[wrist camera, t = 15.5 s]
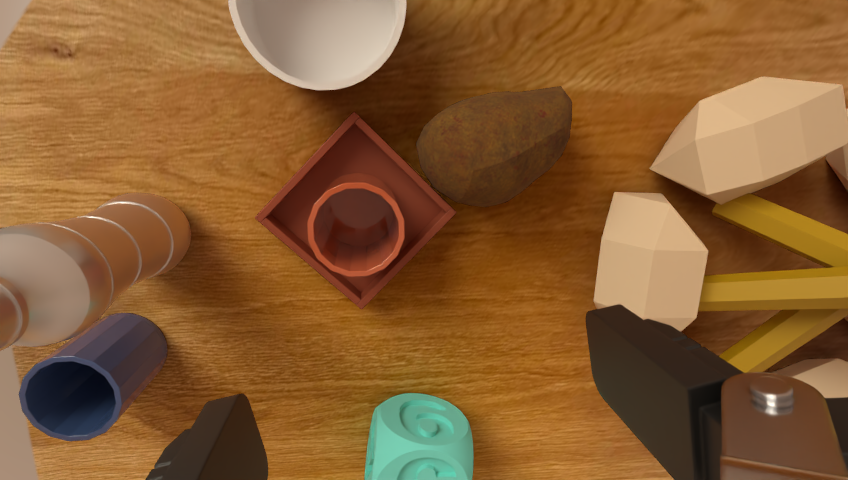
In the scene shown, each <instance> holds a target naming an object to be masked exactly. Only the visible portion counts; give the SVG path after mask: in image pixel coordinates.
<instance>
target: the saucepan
mask: <svg viewBox="0 0 848 480" xmlns="http://www.w3.org/2000/svg"><path fill="white" fill-rule="evenodd" d="M228 3H229V10H230V13H231V16H232V19H233V23H234V26H235V28H236V30H237V32H238V34H239V36H240V38H241V40H242V42H243V44H244V45H245V47H246V48H247V49H248V50H249V52H250V53H251V54H252V56H253V57H254V58H255V59H256V60H257V61H258V62H259V63H260V64H261V65H262V66H263V67H264V68H266V69H267V70H268V71H269V72H270V73H272V74H274V75H275V76H277V77H279V78H280V79H282V80H283V81H285V82H288V83H291V84H293V85H296V86H299V87H302V88H307V89H313V90H336V89H342V88H346V87H350V86H352V85H355V84H357V83H359V82H361V81H363V80H364V79H366V78H367V77H369V76H370V75H371V74H373V73H374V72H375V71H377V70H378V69H379V68H380V67H381V66H382V65H383V63H384V62H385V61H386V60H387V59H388V58H389V57H390V55H391V53H392V52H393V50H394V48H395V46H396V45H397V43H398V41H399V38H400V35H401V32H402V29H403V26H404V21H405V14H406V0H228Z"/></svg>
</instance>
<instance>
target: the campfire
mask: <svg viewBox="0 0 848 480" xmlns="http://www.w3.org/2000/svg"><path fill="white" fill-rule="evenodd" d="M826 155H827V156H826ZM824 156H826V160H827V162H828V163H829V165H830V166H831V168H832V169H833V171H834V172H835V174H836V175H837V176H838V178H839V179H840V181H841V182H842V184H843V185H844V187H845V188H846V190H847V191H848V109H846V106H845V98H844V90H843V85H840V84H830V83H821V82H811V81H801V80H792V79H782V78H772V77H763V76H762V77H760V78H757V79H755V80H752V81H749V82H747V83H744V84H742V85H739V86H737V87H734V88H731V89H729V90H726V91H724V92H721V93H718V94H716V95H713V96H711V97H708V98H706V99H703V100H700V101H699V102H698V103H697V104H696V105H695V107H694V108H693V109H692V110H691V111H690V112H689V113H688V114H687V116H686V117H685V118H684V119H683V120H682V121H681V122H680V123H679V125H678V126H677V127H676V128H675V129H674V131H673V133H672V134H671V136H670V137H669V139H668V140H667V142H666V144H665V145H664V147H663V148H662V150H661V152H660V153H659V155H658V156H657V158H656V159H655V161H654V163H653V164H652V166H651V167H650V170H652V171H654V172H656V173H658V174H660V175H662V176H664V177H666V178H668V179H670V180H672V181H674V182H676V183H678V184H680V185H682V186H684V187H686V188H688V189H690V190H692V191H694V192H696V193H698V194H700V195H702V196H704V197H706V198H708V199H710V200H712V201H714V202H716V204H715V206H714V208H713V210H712V215H713V216H715V217H718V218H720V219H722V220H724V221H726V222H728V223H731V224H733V225H735V226H737V227H739V228H742V229H744V230H746V231H748V232H750V233H752V234H755V235H757V236H759V237H761V238H763V239H765V240H768V241H770V242H772V243H774V244H776V245H778V246H781V247H783V248H785V249H787V250H789V251H791V252H794V253H796V254H798V255H800V256H802V257H804V258H807V259H809V260H811V261H813V262H815V263H817V264H820V265H822V266H824V267H826V268H816V269H800V270H784V271H768V272H752V273H736V274H720V275H704V273H705V267H706V262H707V256H708V250H707V248H706V247H705V245H704V244H703V243H702V241H701V240H700V239H699V237H698V236H697V235H696V234H695V233H694V231H693V230H692V229H691V228H690V227H689V225H688V224H687V223H686V222H685V221H684V219H683V218H682V217H681V216H680V215H679V213H678V212H677V211H676V210H675V209H674V207H673V206H672V205H671V204H670V203H669V202H668V200H667V199H666V198H665V197H664V196H663V194H662V193H632V192H614V195H613V199H612V202H611V206H610V209H609V213H608V217H607V220H606V224H605V228H604V231H603V235H602V239H601V246H600V254H599V262H598V270H597V278H596V286H595V294H594V303H595V306H596V308H597V309H600V308H604V307H608V306H613V305H617V304H621V305H623V306H624V307H626V308H627V309H628V310H630V311H631V312H633V313H634V314H636V315H637V316H639V317H640V318H642V319H643V320H644V319H651V320H654V321H658V322H661V323H664V324H667V325H671V326H672V327H674V328H675V329H677V330H678V331H680V332H681V331H682V330H683V329H684V328H686V327H687V326H688V325H689V324H690V323H691V322H692V321H694V320H695V319H696V318H697V312H698V311H737V310H781V311H780V312H779V313H777V314H776V315H774V316H773V317H772V318H770V319H769V320H768V321H766V322H765V323H763V324H762V325H761V326H759V327H758V328H756V329H755V330H754V331H752V332H751V333H750V334H748V335H747V336H745V337H744V338H743V339H741V340H740V341H739V342H737V343H736V344H734V345H733V346H732V347H730V348H729V349H727V350H726V351H725V352H723V353H722V354H721V355H719V357H720V358H722V359H724V360H725V361H727V362H728V363H730V364H731V365H733V366H734V367H736V368H738V369H739V370H741V371H742V372H744V373H749V372H763V371H765V370H766V369H768V368H769V367H771V366H772V365H774V364H775V363H777V362H778V361H780V360H781V359H783V358H784V357H786V356H787V355H789V354H790V353H792V352H793V351H795V350H796V349H798V348H799V347H801V346H802V345H804V344H805V343H807V342H808V341H810V340H811V339H813V338H814V337H816V336H817V335H819V334H820V333H822V332H823V331H825V330H826V329H828V328H829V327H831V326H832V325H834V324H835V323H837V322H838V321H840V320H841V319H843V318H845V320H846V321H847V322H848V234H846V233H844V232H842V231H839V230H837V229H834V228H832V227H830V226H827V225H825V224H822V223H820V222H818V221H815V220H813V219H810V218H808V217H806V216H803V215H801V214H798V213H796V212H794V211H791V210H789V209H786V208H784V207H782V206H779V205H777V204H774V203H772V202H770V201H767V200H765V199H762V198H760V197H758V196H755V195H753V194H750V193H752V192H755V191H758V190H760V189H763V188H765V187H768V186H770V185H773V184H775V183H778V182H780V181H782V180H784V179H786V178H787V177H789V176H791V175H793V174H794V173H796V172H798V171H800V170H802V169H803V168H805V167H807V166H809V165H810V164H812V163H814V162H816V161H817V160H819V159H821V158H823V157H824ZM772 373H776V374H781V375H786V376H789V377H793V378H796V379H798V380H801V381H803V382H805V383H807V384H809V385H811V386H813V387H814V388H816V389H817V390H818V391H819V392H820V393H821V394H822V395H823V396H824V398H842V397H848V362H846V361H844V360H841V359H839V358H833V359H805V360H803V361H800V362H797V363H795V364H792V365H790V366H787V367H785V368H782V369H780V370H777V371H775V372H772Z"/></svg>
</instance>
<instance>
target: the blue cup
mask: <svg viewBox="0 0 848 480" xmlns="http://www.w3.org/2000/svg"><path fill="white" fill-rule="evenodd" d="M166 358H167V343H166V340H165V337H164V335H163V333H162V332H161V331H160V329H159V328H158V327H157V326H156V325H155V324H154V323H153V322H151V321H150V320H148V319H146V318H144V317H142V316H139V315H136V314H131V313H117V314H112V315H109V316H106V317H104V318H102V319H101V320H100V321H97V322H95V323H94V324H93V325H91V326H90V327H89V328H87V329H86V330H85V331H84V332H82V333H81V334H79V335H77V336H75V337H74V338H73V339H71V340H70V341H68V342H67V343H66V344H64V345H63V346H61V347H60V348H58V349H57V350H56V351H54V352H53V353H51V354H50V355H48V356H47V357H46V358H44V359H43V360H41V361H40V362H39V363H37V364H36V365H34V367H33V368H32V369H31V370H30V371H29V372H28V373H27V374H26V375H25V376H24V378H23V380H22V384H21V388H20V391H19V398H20V403H21V407H22V411H23V413H24V414H25V415H26V417H27V418H28V419H29V421H30V422H31V423H32V425H33V426H34V427H36V428H37V429H39V430H40V431H42V432H44V433H45V434H47V435H48V436H50V437H54V438H58V439H62V440H66V441H80V440H89V439H92V438H94V437H96V436H98V435H101V434H103V433H105V432H106V431H107V430H108V429H109V428H110V427H111V426H112V425H113V424H114V423H115V422H116V421H117V420H118V419H119V417H120V416H121V415H122V414H123V413H124V412H125V411H126V409H127V408H128V407H129V406H130V405H131V404H132V402H133V401H134V400H135V399H136V398H137V397H138V396H139V394H140V393H141V392H142V391H143V390H144V389H145V387H146V386H147V385H148V384H149V383H150V382H151V381H152V379H153V378H154V377H155V376H156V375H157V374H158V372H159V371H160V370H161V368H162V367H163V365H164V363H165V361H166Z"/></svg>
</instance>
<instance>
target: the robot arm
mask: <svg viewBox="0 0 848 480" xmlns="http://www.w3.org/2000/svg"><path fill="white" fill-rule="evenodd" d="M586 328H587V336H588V344H589V351H590V359H591V367H592V374H593V378H594V381H595V384H596V386H597V389H598V391H599V393H600V395H601V396H602V398H603V399H604V400H605V401H606V402H607V403H608V405H609V406H610V407H611V408H612V409H613V410H614V411H615V413H616V414H617V415H618V416H619V417H620V418H621V419H622V420H623V422H624V423H625V424H626V425H627V426H628V427H629V428H630V430H631V431H632V432H633V433H634V434H635V435H636V436H637V438H638V439H639V440H640V441H641V442H642V443H643V444H644V445H645V447H646V448H647V449H648V450H649V451H650V452H651V453H652V455H653V456H654V457H655V458H656V459H657V460H658V461H659V463H660V464H661V465H662V466H663V467H664V468H665V469H666V470H667V472H668V473H669V474H670V475H671V476H672V477H673V478H674V480H848V397H842V398H824V396H823V395H822V394H821V393H820V392H819V391H818V390H817V389H816V388H814V387H813V386H811V385H809V384H807V383H805V382H803V381H801V380H798V379H796V378H793V377H789V376H786V375H781V374H776V373H768V372H749V373H744V372H742V371H741V370H739V369H738V368H736V367H734V366H733V365H731V364H730V363H728V362H727V361H725V360H724V359H722V358H720V357H719V356H717V355H716V354H714V353H713V352H711V351H710V350H708V349H706V348H705V347H701V345H700V344H699V343H697V342H696V341H694V340H692V339H691V338H687V336H686V335H685V334H683V333H682V332H680V331H678V330H677V329H675V328H674V327H672V326H671V325H667V324H664V323H661V322H658V321H654V320H651V319H644V320H643V319H642V318H640V317H639V316H637V315H636V314H634V313H633V312H631V311H630V310H628V309H627V308H626V307H624V306H623V305H621V304H617V305H613V306H608V307H604V308H600V309H596V310H592V311H588V312H587V314H586ZM267 479H268V462H267V456H266V452H265V449H264V445H263V442H262V439H261V436H260V433H259V430H258V427H257V424H256V421H255V418H254V415H253V412H252V409H251V406H250V403H249V400H248V398H247V397H246V396H245V395H244V394H242V393H241V394H237V395H233V396H229V397H225V398H220V399H216V400H212V401H208V402H207V403H206V404H205V406H204V408H203V409H202V411H201V413H200V414H199V416H198V418H197V419H196V421H195V423H194V424H193V426H192V428H191V429H187V430H185V431H184V432H182V433H181V434H180V435H179V436H178V437H177V438H176V439H175V440H174V441H173V442H172V443H170V444H169V445H168V446H167V447H166V448H165V450H164V451H163V453H162V455H161V456H160V458H159V459H158V461H157V462H156V464H155V469H152V470H151V472H150V473H149V475H148V477H147V478H146V480H267Z"/></svg>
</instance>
